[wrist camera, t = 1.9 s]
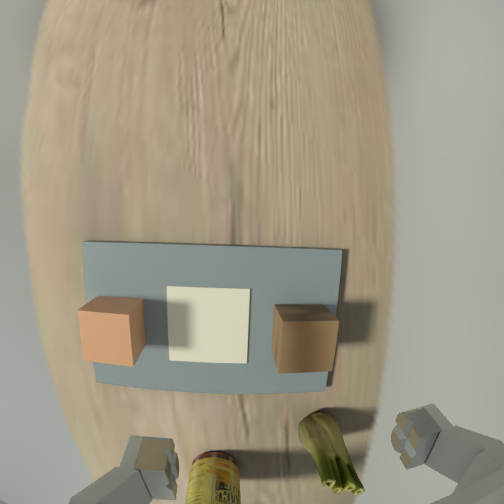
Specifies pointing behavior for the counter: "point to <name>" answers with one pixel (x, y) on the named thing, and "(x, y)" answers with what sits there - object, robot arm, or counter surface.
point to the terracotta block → (112, 330)
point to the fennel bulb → (329, 452)
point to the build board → (210, 311)
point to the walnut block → (304, 338)
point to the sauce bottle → (214, 480)
